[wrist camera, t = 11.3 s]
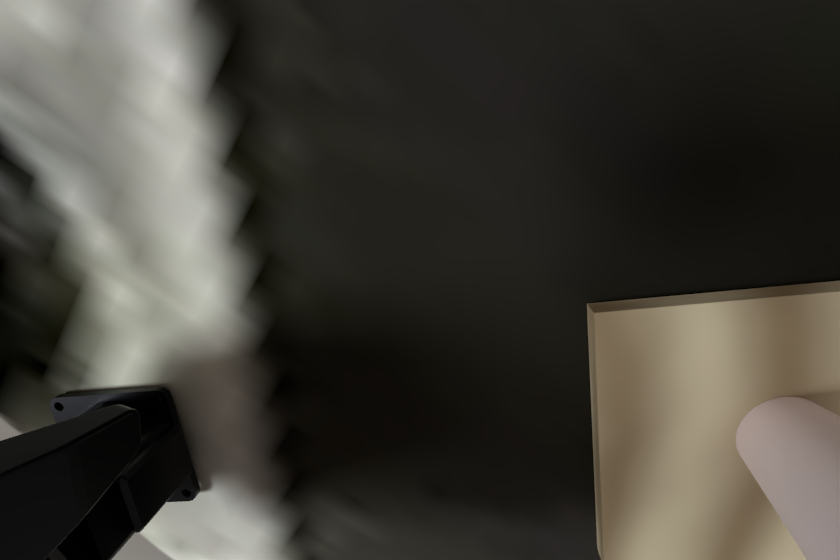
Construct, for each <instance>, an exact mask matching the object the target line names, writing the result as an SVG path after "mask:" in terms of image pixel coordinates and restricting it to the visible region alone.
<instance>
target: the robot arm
mask: <svg viewBox="0 0 840 560" xmlns="http://www.w3.org/2000/svg"><path fill="white" fill-rule="evenodd" d="M158 395H159V396H160V397H161V398H162V400H161V399H160V398H159V397H158ZM50 408H51V411H52V413H53V416H54V419H55V421H56V424H53V425H50V426H46V427H43V428H40V429H37V430H34V431H31V432H28V433H24V434H21V435H18V436H15V437H12V438H9V439H6V440H2V441H0V560H111V559H112V558H113V557H114V556H115V555H116V554H117V553H118V551H119V550H120V549H121V548H122V547H123V546H124V544H125V543H126V542H127V541H128V540H129V539H130V538H131V536H132V535H133V534H134V533H135V532H140V531H142V530H143V529H144V527H145V526H146V525H147V524H148V523H149V522H150V520H151V519H152V518H153V517H154V516H155V515H156V513H157V512H158V511H159V510H160V509H161V508H162V506H163V505H164V504H165V503H166V502H178V501H191V500H193V499H194V498H195V497H196V496H197V494H198V493H199V491H200V488H199V484H198V481H197V478H196V474H195V471H194V468H193V464H192V461H191V458H190V454H189V451H188V448H187V445H186V441H185V438H184V435H183V431H182V428H181V425H180V421H179V418H178V415H177V411H176V408H175V405H174V401H173V398H172V395H171V393H170V391H169V390H168V389H167V388H165V387H160V386H159V387H146V388H133V389H120V390H107V391H94V392H81V393H68V394H60V395H58V396H56V397H55V398H53V399H52V400H51V401H50ZM187 489H188V490H189V491H188V490H187Z"/></svg>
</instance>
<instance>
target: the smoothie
mask: <svg viewBox="0 0 840 560" xmlns="http://www.w3.org/2000/svg"><path fill="white" fill-rule="evenodd" d="M736 447H737V450H738V453H739V455H740V456H741V458H742V459H743V461H744V462H745V464H746V466H747V467H748V469H749V470H750V472H751V473H752V475H753V476H754V478H755V480H756V481H757V483H758V484H759V486H760V487H761V489H762V490H763V492H764V494H765V495H766V497H767V498H768V500H769V501H770V503H771V504H772V506H773V508H774V509H775V511H776V512H777V514H778V515H779V517H780V518H781V520H782V522H783V523H784V525H785V526H786V528H787V529H788V531H789V532H790V534H791V536H792V537H793V539H794V540H795V542H796V543H797V545H798V547H799V548H800V550H801V551H802V553H803V554H804V556H805V557H806V559H807V560H840V416H838V415H836V414H834V413H832V412H831V411H829V410H827V409H825V408H823V407H821V406H820V405H818V404H816V403H814V402H812V401H810V400H807V399H804V398H799V397H780V398H775V399H771V400H768V401H766V402H763V403H762V404H760V405H758V406H756V407H755V408H753V409H752V410H751V411H750V412H749V413H748V414H747V415H746V416H745V417H744V418H743V419H742V421H741V423H740V425H739V427H738V429H737V433H736Z"/></svg>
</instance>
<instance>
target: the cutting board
mask: <svg viewBox="0 0 840 560" xmlns="http://www.w3.org/2000/svg"><path fill="white" fill-rule="evenodd" d="M587 318H588V341H589V365H590V388H591V412H592V435H593V459H594V483H595V506H596V530H597V548H598V552H599V555H600V558H601V560H807V559H806V557H805V556H804V554H803V553H802V551H801V550H800V548H799V547H798V545H797V543H796V542H795V540H794V539H793V537H792V536H791V534H790V532H789V531H788V529H787V528H786V526H785V525H784V523H783V522H782V520H781V518H780V517H779V515H778V514H777V512H776V511H775V509H774V508H773V506H772V504H771V503H770V501H769V500H768V498H767V497H766V495H765V494H764V492H763V490H762V489H761V487H760V486H759V484H758V483H757V481H756V480H755V478H754V476H753V475H752V473H751V472H750V470H749V469H748V467H747V466H746V464H745V462H744V461H743V459H742V458H741V456H740V455H739V453H738V450H737V447H736V433H737V429H738V427H739V425H740V423H741V421H742V419H743V418H744V417H745V416H746V415H747V414H748V413H749V412H750V411H751V410H752V409H753V408H755V407H756V406H758V405H760V404H762V403H763V402H766V401H768V400H771V399H775V398H780V397H799V398H804V399H807V400H810V401H812V402H814V403H816V404H818V405H820V406H821V407H823V408H825V409H827V410H829V411H831V412H832V413H834V414H836V415H838V416H840V281H830V282H819V283H808V284H797V285H786V286H775V287H764V288H753V289H742V290H731V291H720V292H709V293H698V294H687V295H676V296H665V297H654V298H643V299H632V300H621V301H610V302H599V303H588V304H587Z"/></svg>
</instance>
